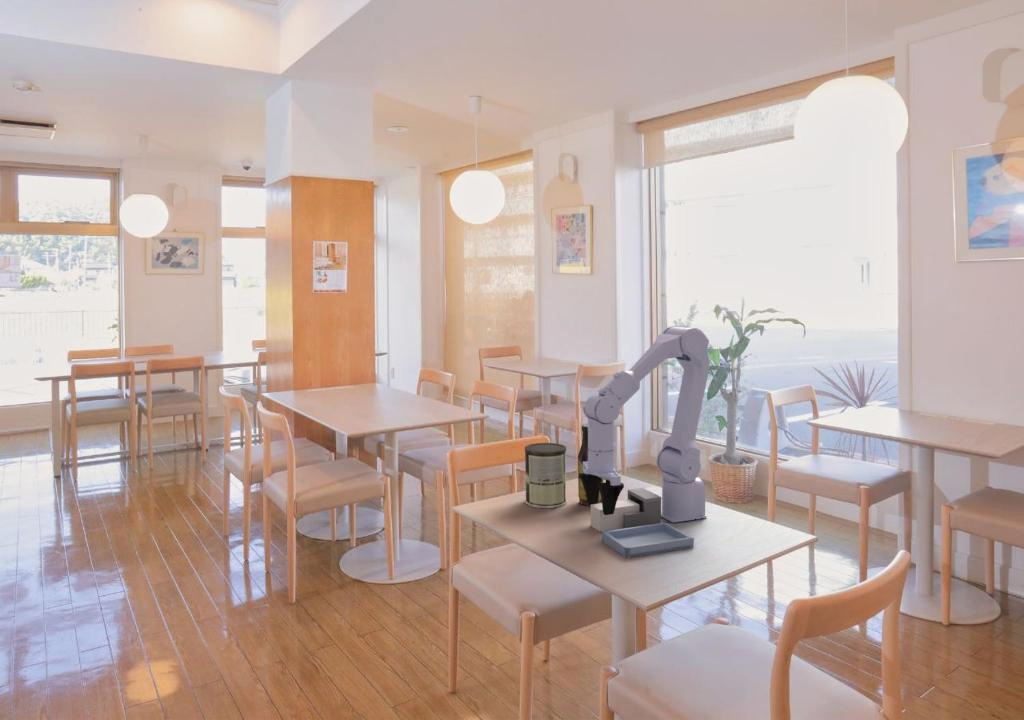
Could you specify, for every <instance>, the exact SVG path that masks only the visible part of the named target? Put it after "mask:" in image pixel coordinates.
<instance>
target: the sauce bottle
mask: <svg viewBox="0 0 1024 720" xmlns="http://www.w3.org/2000/svg"><path fill="white" fill-rule="evenodd" d="M581 432H582V440H581V441H582V443H581V445H580V448H579V451H578V455H577V481H578V484H577V485H578V486H577V487H578V490H577V491H578V499H579V503H580V504H581V505H584V506H590V507H591V505H588V502H587V498H586V493H585V489H584V486H583V484H582V481H581V479H580V478H579V474H580V473H583V470H582V462H587V461H588V423H584V424H582V425H581ZM601 483H605V480H604V479H602V481H601ZM599 503H602V498H601V494H600V491H599V500H598V504H599Z"/></svg>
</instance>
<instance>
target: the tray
mask: <svg viewBox="0 0 1024 720" xmlns="http://www.w3.org/2000/svg"><path fill="white" fill-rule="evenodd" d="M694 541H695V539H694V537H693V536H691V535H689V534H687V533H685V532H683V531H682V530H680V529H678V528H676V527H674V526H672V525H671V524H669V523H668V522H661V523H658V524H651V525H644V526H637V527H630V528H620V529H614V530H607V531H601V542H603V543H604V544H606V545H607V546H608V547H610V548H611V547H612V548H611V549H612V550H614V551H616V552H617V553H618V552H619V553H618V554H620V555H621V556H623V557H624V558H625V559H629V558H628V557H631V558H636V557H635V556H637V557H641V556H642V555H643V556H649V555H654V554H660V553H668V552H674V551H679V550H685V549H691V548H692V549H693V548H694V545H695V543H694ZM643 556H642V557H643Z"/></svg>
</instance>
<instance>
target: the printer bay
mask: <svg viewBox="0 0 1024 720" xmlns="http://www.w3.org/2000/svg"><path fill="white" fill-rule="evenodd" d="M629 499H630V500H631V501H633V502H635V503H637V504H639V512H633V513H626V514H623V528H630V527H637V526H644V525H651V524H658V523H662V517H661V510H662V496H660V495H658V494H656V493H654V492H652V491H650V490H647V489H646V488H644V487H638V488H631V489H630V488H629V489H627V500H629ZM623 528H622V529H623Z"/></svg>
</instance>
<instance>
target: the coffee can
mask: <svg viewBox="0 0 1024 720" xmlns="http://www.w3.org/2000/svg"><path fill="white" fill-rule="evenodd" d="M566 453H567V447H566V445H565V444H564V445H563V444H561V443H555V442H537V443H530V444H527V445H526V446H525V447H524V455H525V456H524V457H525V458H524V459H525V461H524V463H525V470H524V471H525V503H527V504H528V505H527V504H526V505H527V506H529V505H530V506H529V507H531V506H533V507H532V508H535V507H539V508H538V509H554V507H557V508H560V507H563V506H565V505H566V504H567V484H566V483H567V482H566V481H567V480H566V478H567V474H566V473H567V472H566V467H567V466H566V465H567V464H566V460H567V459H566V458H567V457H566V456H567V455H566Z"/></svg>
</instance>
